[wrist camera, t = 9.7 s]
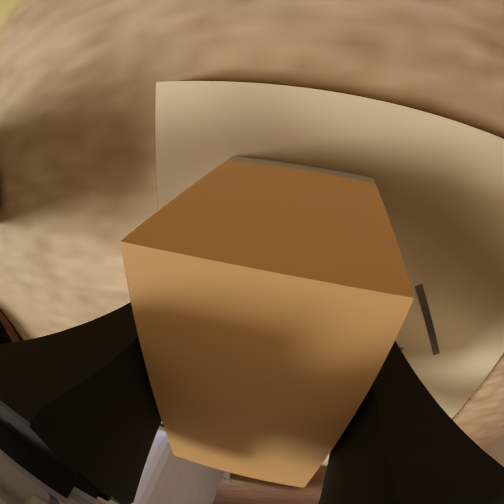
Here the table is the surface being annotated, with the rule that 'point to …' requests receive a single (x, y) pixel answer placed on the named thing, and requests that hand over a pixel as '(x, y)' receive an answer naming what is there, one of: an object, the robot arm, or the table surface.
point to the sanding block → (265, 312)
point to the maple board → (391, 191)
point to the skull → (7, 331)
